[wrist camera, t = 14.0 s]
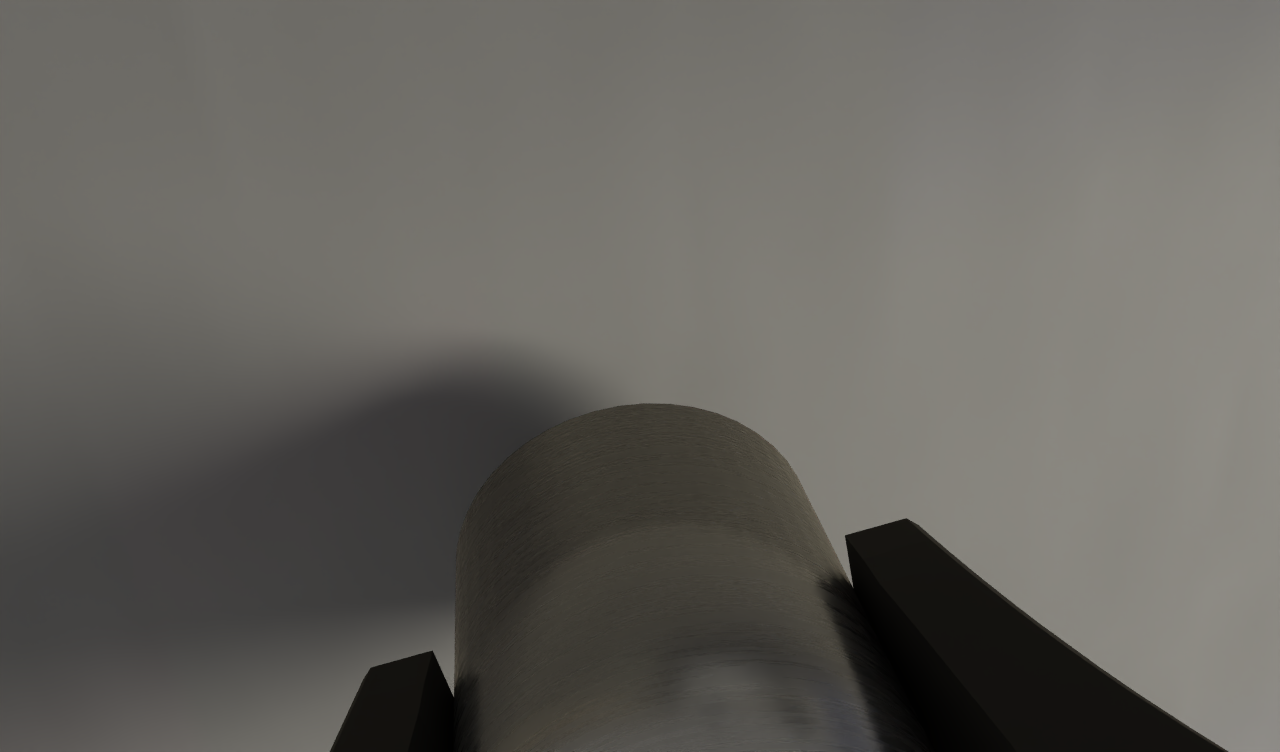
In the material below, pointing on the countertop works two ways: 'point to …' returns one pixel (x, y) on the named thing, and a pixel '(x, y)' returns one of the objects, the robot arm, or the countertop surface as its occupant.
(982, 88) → the countertop surface
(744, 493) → the cylinder
